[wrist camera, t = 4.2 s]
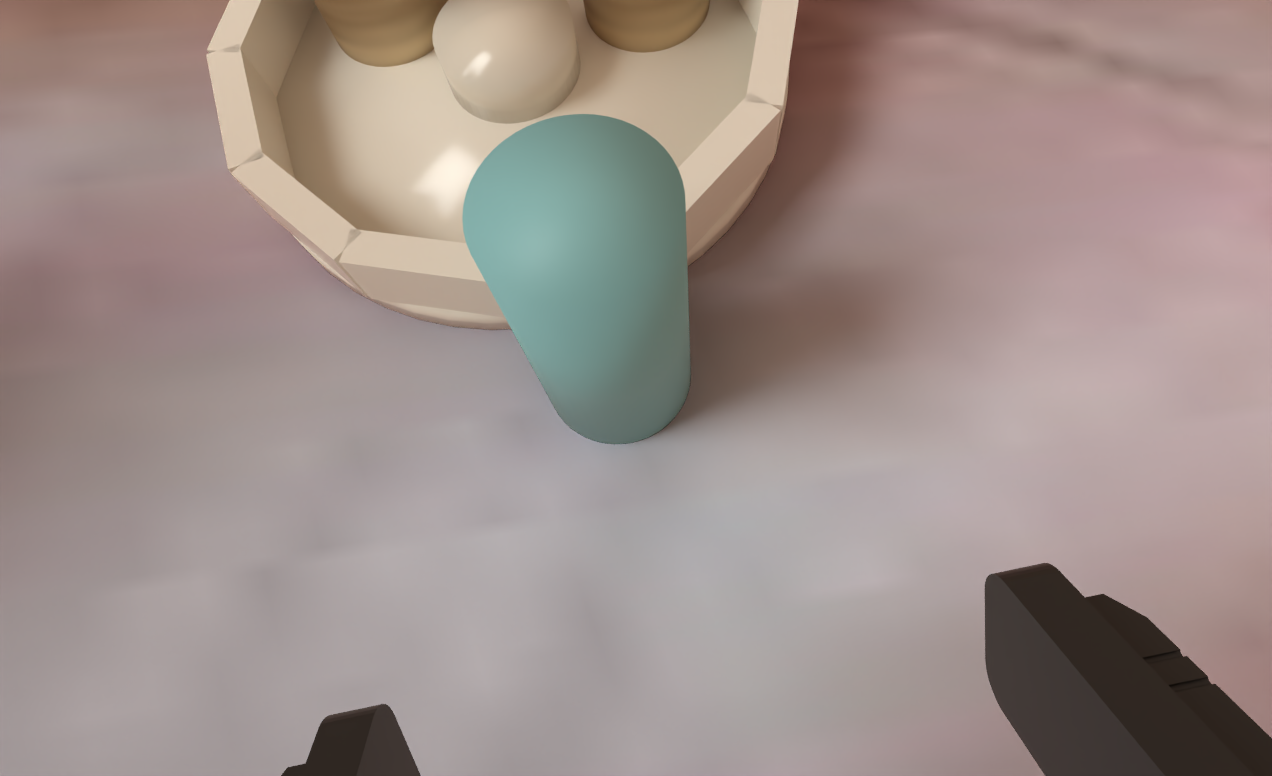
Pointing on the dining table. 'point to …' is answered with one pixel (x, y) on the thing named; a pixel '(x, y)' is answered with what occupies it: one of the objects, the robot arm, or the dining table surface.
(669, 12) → the ribbed wooden peg
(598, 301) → the teal rounded cylinder
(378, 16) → the tan rounded cylinder
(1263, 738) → the robot arm
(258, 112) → the ring dish
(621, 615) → the dining table surface
